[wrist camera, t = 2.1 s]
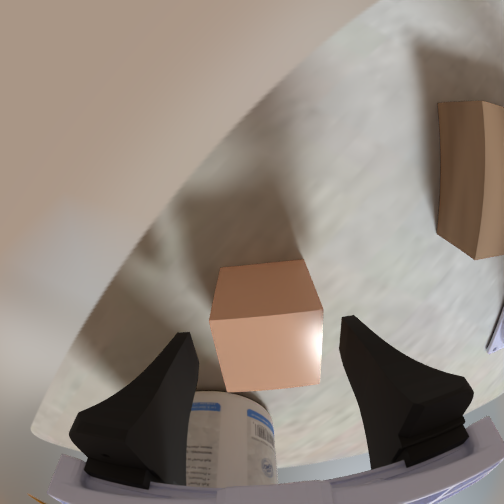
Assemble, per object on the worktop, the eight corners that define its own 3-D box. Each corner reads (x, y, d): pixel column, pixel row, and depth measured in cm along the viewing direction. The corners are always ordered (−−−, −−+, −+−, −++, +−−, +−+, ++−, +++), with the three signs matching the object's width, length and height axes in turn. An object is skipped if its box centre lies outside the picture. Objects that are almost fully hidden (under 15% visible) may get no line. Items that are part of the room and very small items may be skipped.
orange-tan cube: (303, 258, 16) (323, 309, 11) (305, 325, 17) (319, 383, 13) (220, 267, 16) (208, 320, 11) (232, 332, 18) (227, 392, 13)
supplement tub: (160, 431, 23) (133, 561, 9) (166, 372, 19) (119, 559, 6) (257, 448, 24) (259, 577, 10) (291, 396, 20) (311, 575, 7)
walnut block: (513, 120, 12) (552, 126, 8) (509, 226, 15) (543, 246, 11) (437, 102, 12) (482, 100, 8) (436, 234, 15) (474, 260, 11)
